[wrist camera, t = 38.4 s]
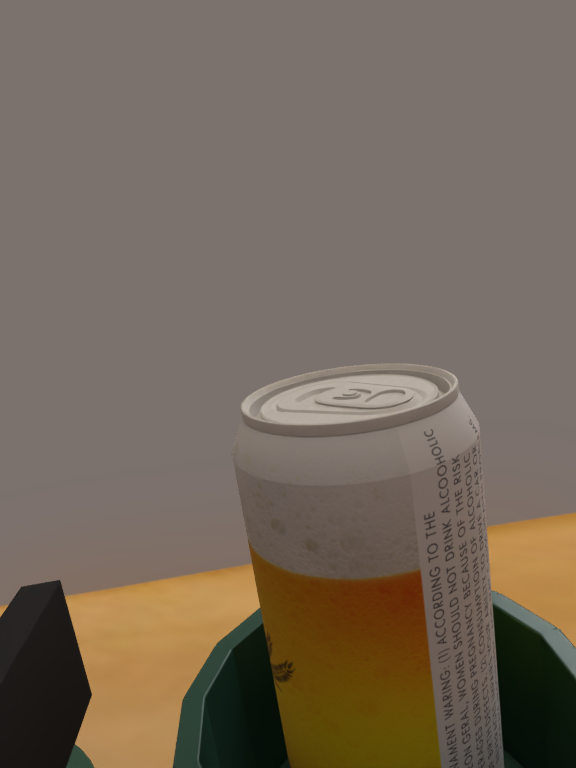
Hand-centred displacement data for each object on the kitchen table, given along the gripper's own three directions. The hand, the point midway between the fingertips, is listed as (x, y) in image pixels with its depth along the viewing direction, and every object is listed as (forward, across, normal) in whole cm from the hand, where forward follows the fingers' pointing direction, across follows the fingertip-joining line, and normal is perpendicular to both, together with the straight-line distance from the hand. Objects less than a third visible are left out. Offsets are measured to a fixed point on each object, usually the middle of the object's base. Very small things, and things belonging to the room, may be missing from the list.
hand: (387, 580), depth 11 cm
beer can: (+3, 0, -12) cm, 12 cm away
